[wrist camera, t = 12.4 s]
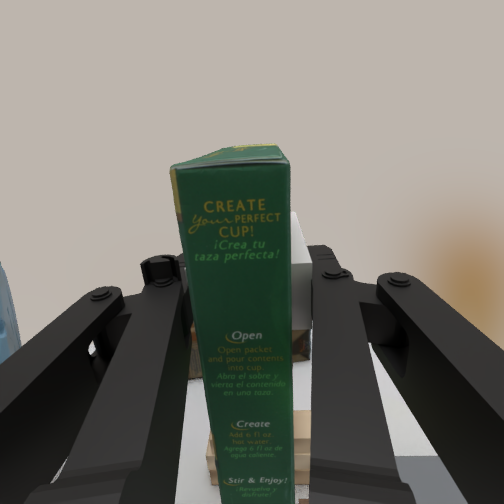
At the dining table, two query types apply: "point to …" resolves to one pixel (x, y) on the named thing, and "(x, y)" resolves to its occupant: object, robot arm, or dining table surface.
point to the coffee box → (242, 312)
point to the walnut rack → (303, 501)
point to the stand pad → (429, 480)
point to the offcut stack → (300, 449)
